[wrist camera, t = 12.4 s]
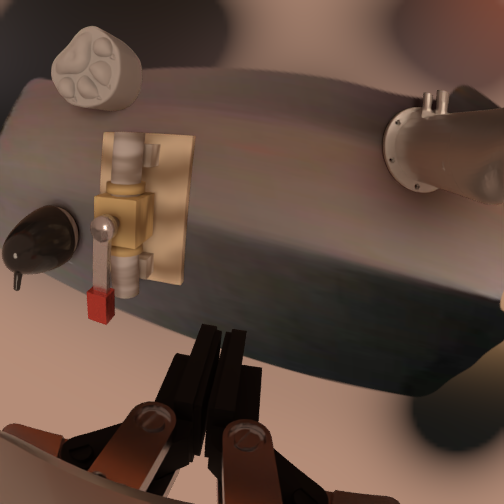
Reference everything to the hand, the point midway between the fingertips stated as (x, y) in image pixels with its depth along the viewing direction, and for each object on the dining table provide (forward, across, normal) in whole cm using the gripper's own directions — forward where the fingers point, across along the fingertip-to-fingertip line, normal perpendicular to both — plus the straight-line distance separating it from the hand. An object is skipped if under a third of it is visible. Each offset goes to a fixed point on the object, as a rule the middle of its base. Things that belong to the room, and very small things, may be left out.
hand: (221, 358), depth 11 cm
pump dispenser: (+33, +33, +9) cm, 48 cm away
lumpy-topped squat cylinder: (+33, +25, -17) cm, 45 cm away
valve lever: (+22, +17, +8) cm, 29 cm away
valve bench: (+33, +17, +3) cm, 37 cm away
